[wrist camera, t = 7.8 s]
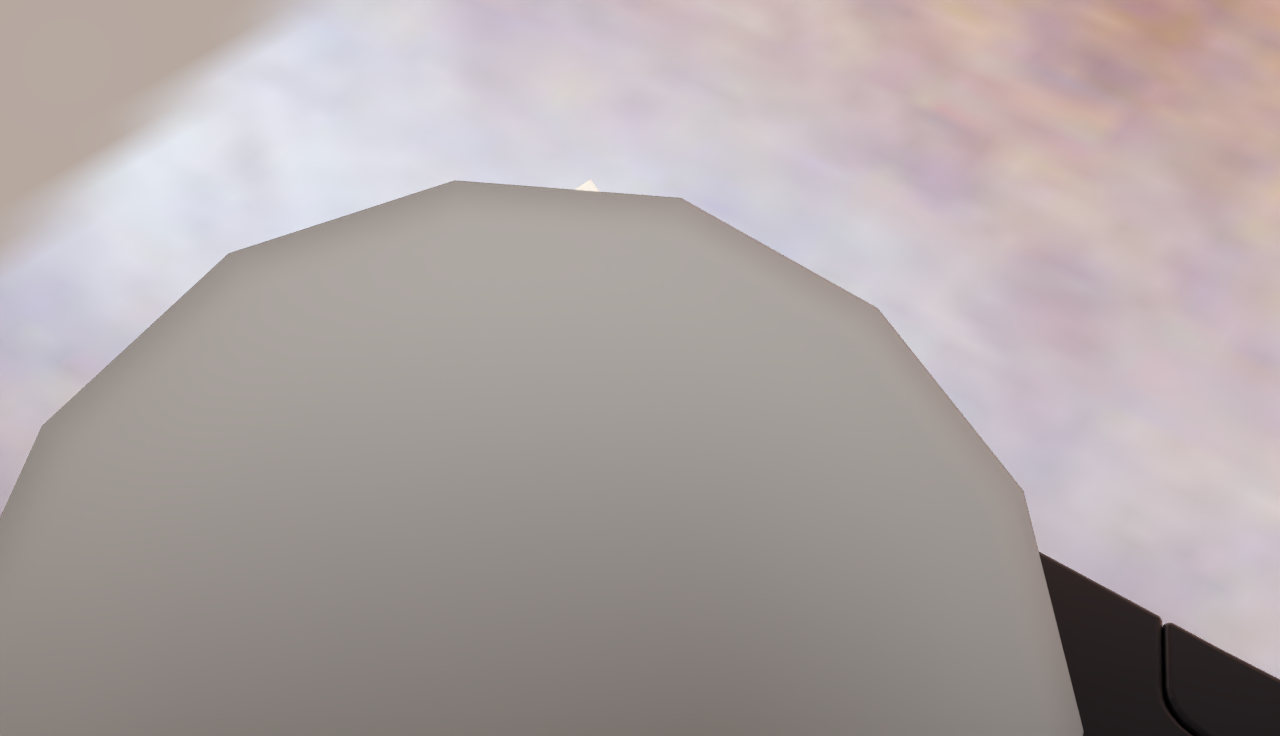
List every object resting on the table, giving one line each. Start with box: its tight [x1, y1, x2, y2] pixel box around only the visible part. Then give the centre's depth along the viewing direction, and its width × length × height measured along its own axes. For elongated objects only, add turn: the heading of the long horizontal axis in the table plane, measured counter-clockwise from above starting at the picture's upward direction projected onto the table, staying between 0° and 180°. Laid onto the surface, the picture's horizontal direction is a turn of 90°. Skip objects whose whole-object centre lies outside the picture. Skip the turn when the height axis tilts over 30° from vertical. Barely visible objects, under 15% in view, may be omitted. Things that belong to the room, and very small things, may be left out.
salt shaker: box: [0, 181, 1083, 736], centre depth 10 cm, size 6×6×13 cm
